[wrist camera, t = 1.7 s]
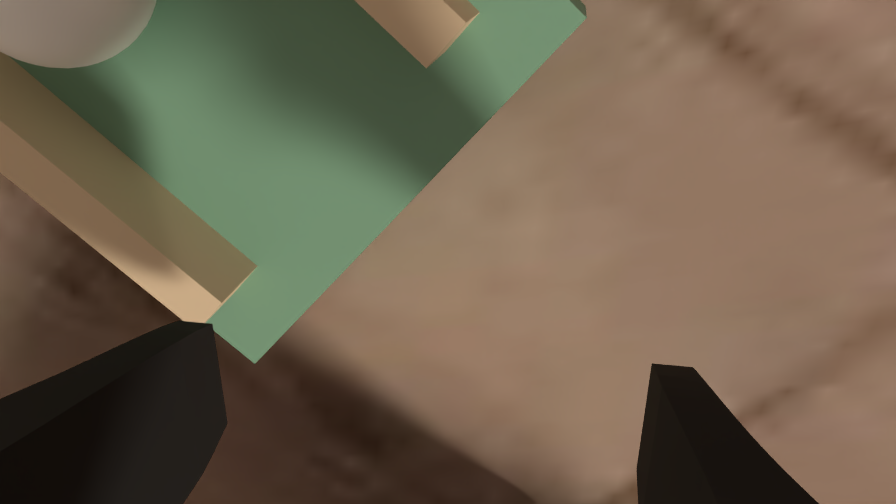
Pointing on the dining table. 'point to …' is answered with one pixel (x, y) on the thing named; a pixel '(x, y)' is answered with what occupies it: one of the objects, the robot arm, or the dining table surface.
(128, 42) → the ball
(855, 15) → the dining table surface
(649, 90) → the dining table surface
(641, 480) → the robot arm
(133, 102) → the board
